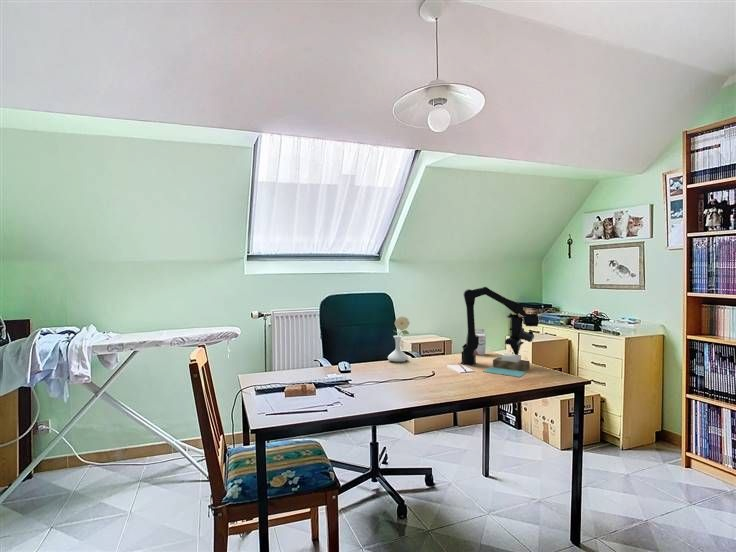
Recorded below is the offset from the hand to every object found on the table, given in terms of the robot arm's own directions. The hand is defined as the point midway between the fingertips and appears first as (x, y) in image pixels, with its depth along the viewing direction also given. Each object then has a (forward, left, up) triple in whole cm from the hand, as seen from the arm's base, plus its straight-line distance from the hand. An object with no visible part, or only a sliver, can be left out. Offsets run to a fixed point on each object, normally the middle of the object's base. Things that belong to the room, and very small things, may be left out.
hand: (516, 355), depth 226 cm
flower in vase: (-56, -28, -5) cm, 62 cm away
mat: (0, -18, -5) cm, 19 cm away
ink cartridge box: (-27, +13, -5) cm, 30 cm away
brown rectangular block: (0, -9, -5) cm, 10 cm away
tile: (0, -8, 0) cm, 8 cm away
